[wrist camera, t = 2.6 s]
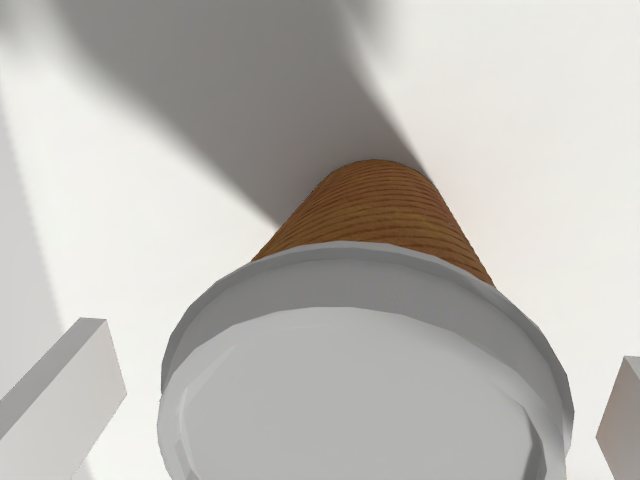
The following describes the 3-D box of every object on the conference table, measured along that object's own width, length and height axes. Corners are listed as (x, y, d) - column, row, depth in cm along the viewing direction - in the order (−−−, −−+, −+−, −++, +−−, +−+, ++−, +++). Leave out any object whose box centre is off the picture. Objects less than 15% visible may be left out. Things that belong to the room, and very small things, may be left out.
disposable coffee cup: (539, 226, 19) (706, 498, 9) (379, 350, 24) (363, 638, 13) (368, 65, 18) (322, 168, 7) (227, 231, 22) (65, 453, 11)
